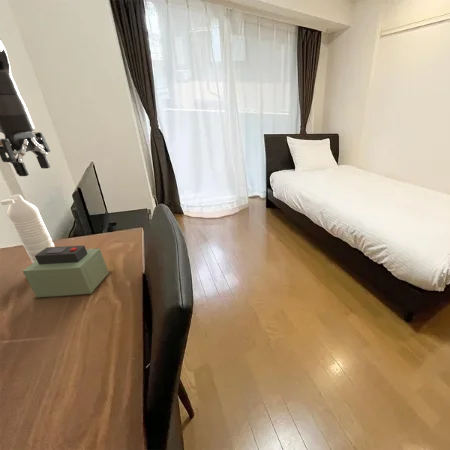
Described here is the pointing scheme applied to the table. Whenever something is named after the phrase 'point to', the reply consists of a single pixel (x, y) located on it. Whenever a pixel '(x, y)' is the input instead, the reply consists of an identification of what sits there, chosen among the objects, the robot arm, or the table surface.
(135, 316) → the table surface
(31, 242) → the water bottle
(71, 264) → the stand
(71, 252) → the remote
